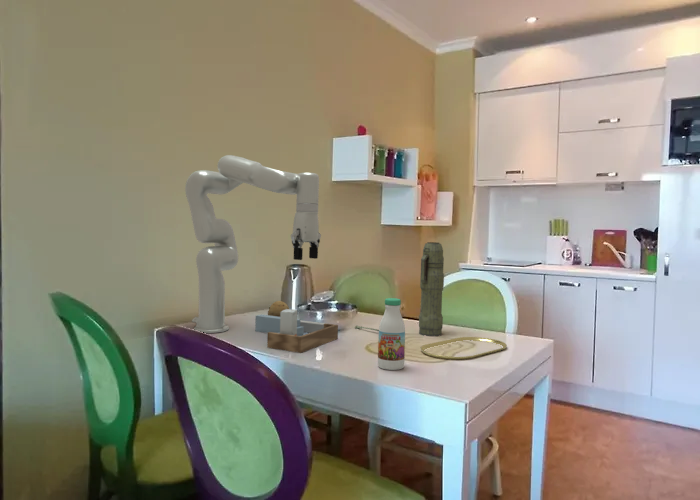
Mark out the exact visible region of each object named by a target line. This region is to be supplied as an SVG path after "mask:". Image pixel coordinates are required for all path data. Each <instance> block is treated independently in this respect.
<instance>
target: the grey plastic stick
mask: <svg viewBox="0 0 700 500" xmlns="http://www.w3.org/2000/svg"><path fill="white" fill-rule="evenodd" d="M325 323H326V322H316V321H310V320H301V319H300V326H302V327H304V334H305V333H306V334H309V333H311V332H314V331H317V330H320V329H323V328H324V324H325ZM327 324H329V323H327Z"/></svg>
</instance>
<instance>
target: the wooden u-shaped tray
mask: <svg viewBox="0 0 700 500" xmlns="http://www.w3.org/2000/svg"><path fill="white" fill-rule="evenodd" d="M324 323H325V324H324V328H323V329H320V330H317V331H314V332H311V333H306V334H304V335H303V336H295V335H288V334H281V333H274V332H268V333H266V334H267V336H266V337H267V338H266V339H267V340H266V341H267V343H266V346H267V347H266V348H267V349H274V350H280V351H281V350H282V351H285V352H286V351H288V352H293V353H300V354H301V353H304V352H307V351H310V350H313V349H315V348H317V347H320V346H322V345H325V344H328V343H330V342H333V341H335V340H337V339H339V338H338V337H339V325H338V324H335V323H328V324H327V323H326V322H324Z"/></svg>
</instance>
